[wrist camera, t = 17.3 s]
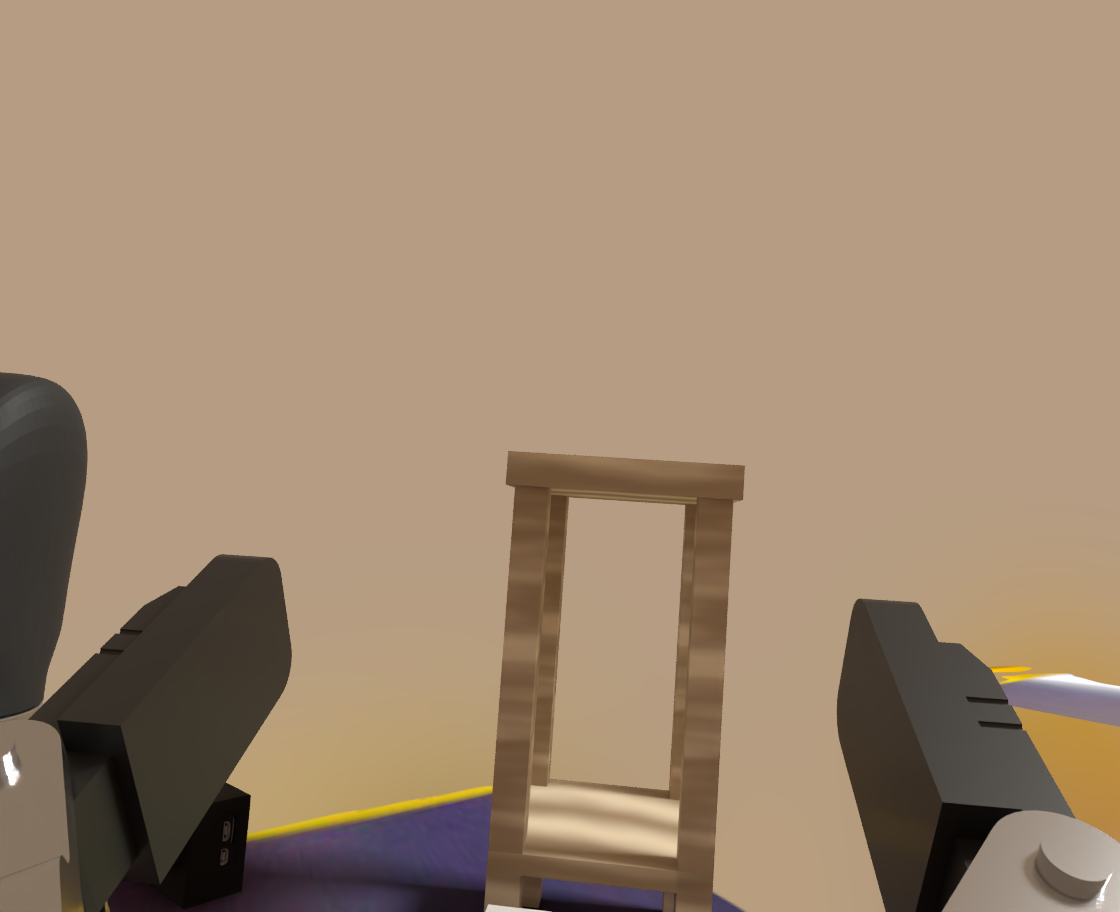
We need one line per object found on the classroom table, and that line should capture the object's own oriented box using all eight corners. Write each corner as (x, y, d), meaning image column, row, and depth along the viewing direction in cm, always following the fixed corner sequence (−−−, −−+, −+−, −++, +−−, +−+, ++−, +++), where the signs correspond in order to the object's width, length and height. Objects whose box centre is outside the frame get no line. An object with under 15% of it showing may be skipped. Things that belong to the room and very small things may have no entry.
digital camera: (101, 867, 63) (112, 771, 64) (173, 849, 67) (182, 759, 68) (166, 916, 57) (177, 808, 57) (241, 892, 61) (251, 792, 61)
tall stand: (714, 1040, 47) (744, 465, 49) (466, 1008, 48) (508, 451, 51) (695, 910, 63) (719, 481, 65) (509, 889, 64) (539, 469, 67)
